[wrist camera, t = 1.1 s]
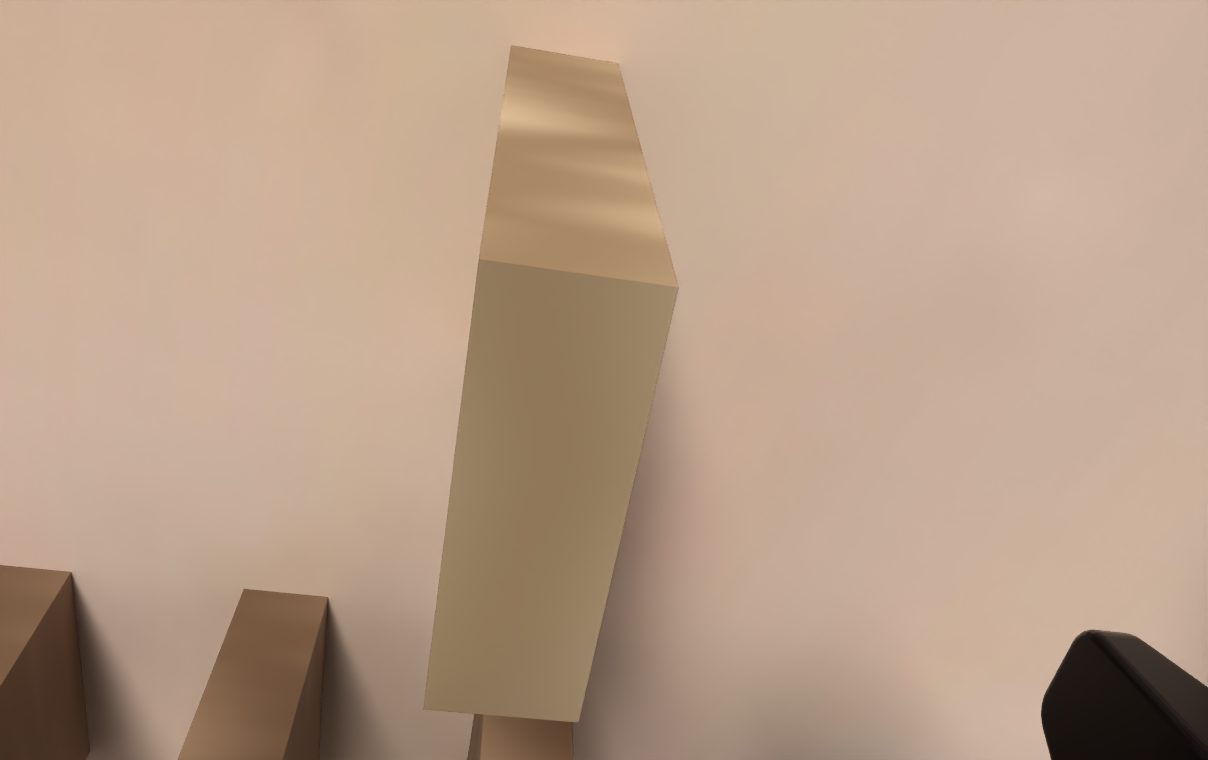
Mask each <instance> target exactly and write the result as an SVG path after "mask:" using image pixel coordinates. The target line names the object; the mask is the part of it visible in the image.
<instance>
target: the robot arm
mask: <svg viewBox="0 0 1208 760" xmlns="http://www.w3.org/2000/svg"><path fill="white" fill-rule="evenodd" d="M1041 718H1042V726H1043V730H1044V734H1045V738H1046V742H1047V745H1048V749H1049V753H1050V757H1051V760H1208V687H1207V686H1205V685H1204V684H1202V683H1201V682H1200V681H1198V680H1197V679H1195V678H1194V677H1193V676H1191V675H1190V674H1188V673H1187V672H1186V671H1184V670H1183V669H1181V668H1180V667H1179V666H1177V665H1176V664H1175V663H1173V662H1172V661H1170V660H1169V659H1168V658H1166V657H1165V656H1163V655H1162V654H1161V653H1159V652H1158V651H1156V650H1155V649H1154V648H1152V647H1151V646H1149V645H1148V644H1147V643H1145V642H1144V641H1142V640H1141V639H1139V638H1138V637H1136V636H1133V635H1131V634H1127V633H1120V632H1111V631H1101V630H1088V631H1084V632H1082V633H1081V634H1080V635H1078V636H1077V637H1076V638H1075V640H1074V641H1073V643H1072V645H1071V646H1070V648H1069V650H1068V652H1067V654H1066V656H1065V657H1064V659H1063V661H1062V663H1061V665H1060V667H1059V669H1058V670H1057V672H1056V674H1055V676H1054V678H1053V680H1052V682H1051V683H1050V685H1049V687H1048V689H1047V691H1046V693H1045V695H1044V698H1043V702H1042V709H1041Z"/></svg>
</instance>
